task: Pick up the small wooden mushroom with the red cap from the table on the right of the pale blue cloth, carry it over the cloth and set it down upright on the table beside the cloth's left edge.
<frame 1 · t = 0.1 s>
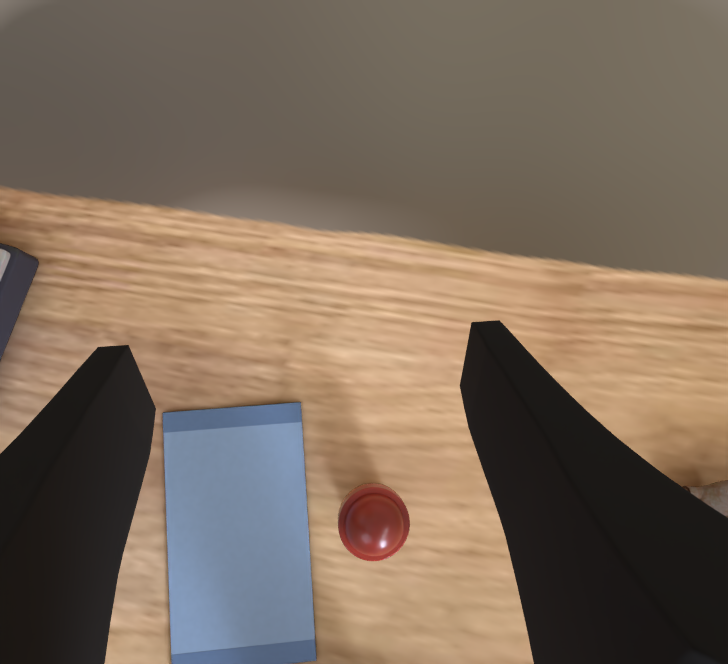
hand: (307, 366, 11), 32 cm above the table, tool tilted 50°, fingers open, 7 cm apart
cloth: (239, 533, 41), on the table
mushroom: (369, 508, 42), on the table
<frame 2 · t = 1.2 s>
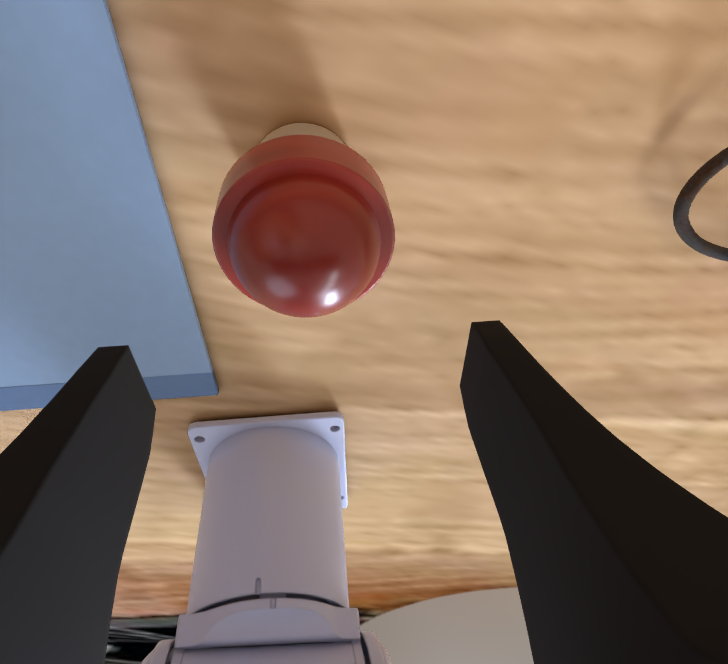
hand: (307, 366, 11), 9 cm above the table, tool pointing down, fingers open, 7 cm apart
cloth: (5, 213, 18), on the table
mushroom: (303, 173, 18), on the table
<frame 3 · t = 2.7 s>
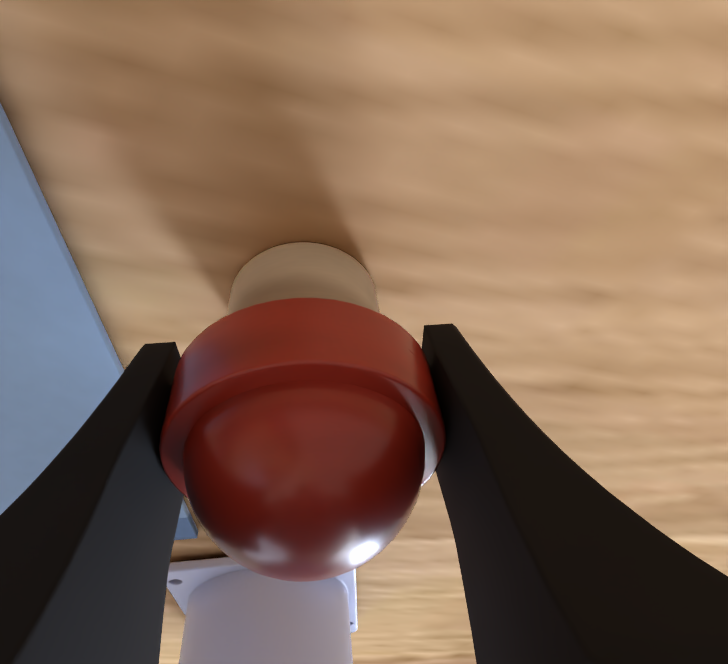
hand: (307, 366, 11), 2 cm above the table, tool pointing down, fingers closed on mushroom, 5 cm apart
mushroom: (304, 302, 13), on the table, touching gripper
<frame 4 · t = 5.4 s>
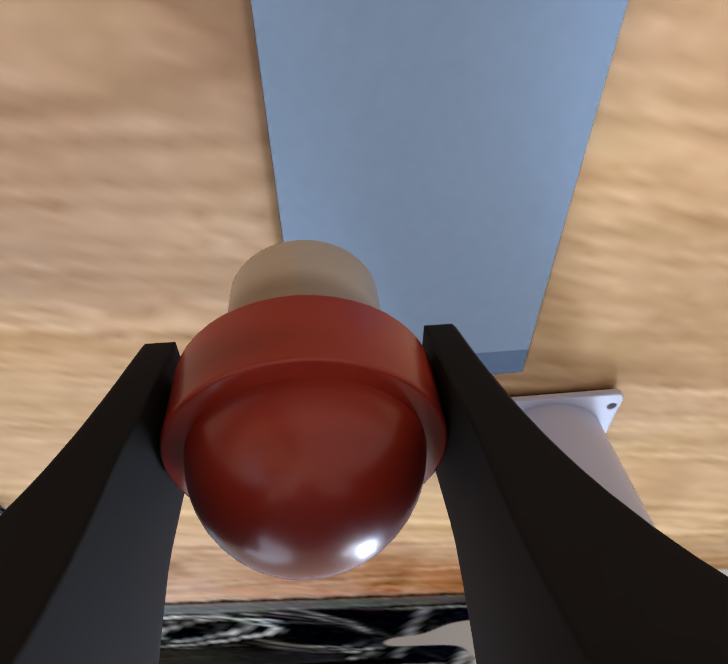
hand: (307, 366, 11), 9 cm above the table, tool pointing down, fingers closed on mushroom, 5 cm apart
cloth: (427, 193, 19), on the table
mushroom: (305, 300, 13), point 7 cm above the table, touching gripper
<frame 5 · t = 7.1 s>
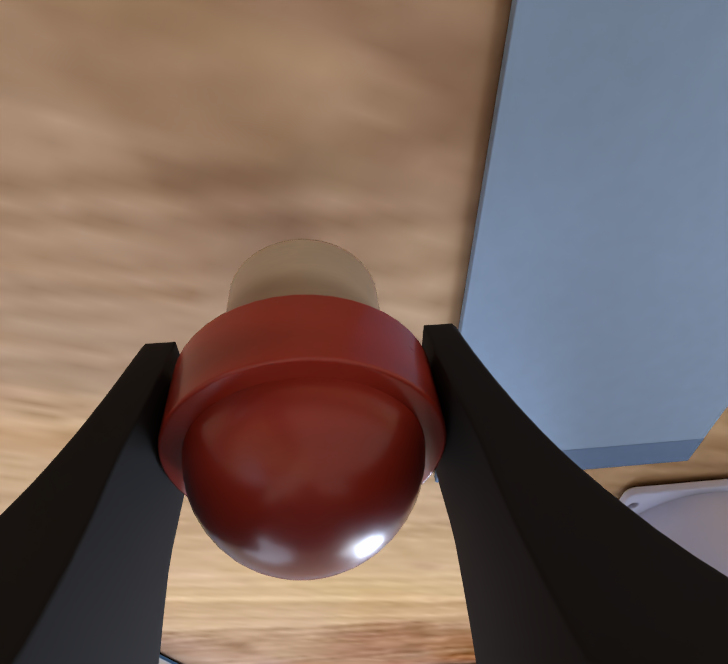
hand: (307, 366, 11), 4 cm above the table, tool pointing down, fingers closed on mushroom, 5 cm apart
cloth: (647, 276, 15), on the table
mushroom: (304, 300, 13), point 1 cm above the table, touching gripper
when the fingers open (2 cm above the table, at t = 8.2 s): mushroom stays where it is, on the table.
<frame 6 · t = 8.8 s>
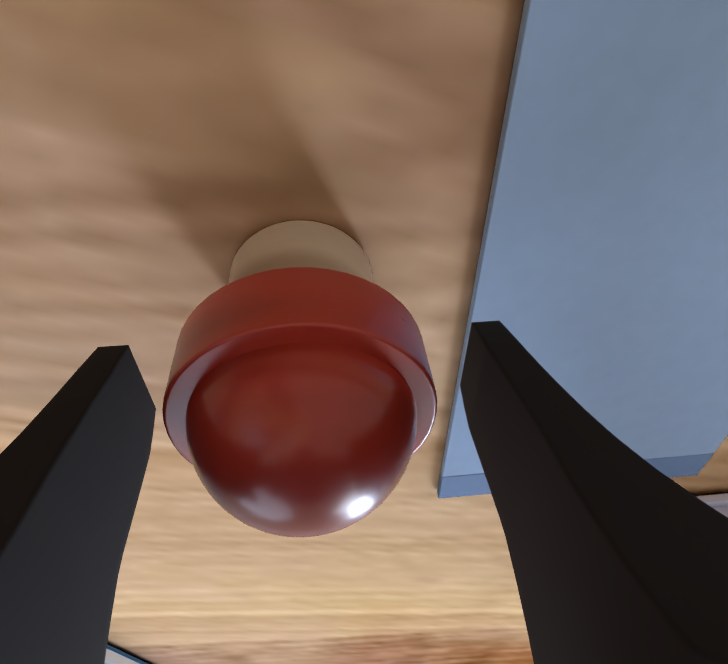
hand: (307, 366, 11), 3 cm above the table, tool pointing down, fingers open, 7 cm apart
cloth: (659, 290, 15), on the table
mushroom: (302, 280, 13), on the table
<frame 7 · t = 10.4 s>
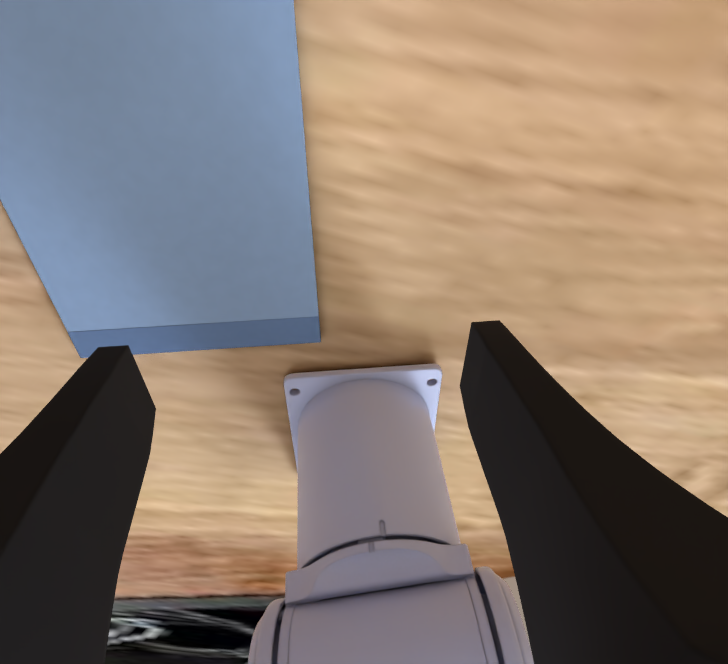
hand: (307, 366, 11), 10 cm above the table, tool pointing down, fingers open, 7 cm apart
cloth: (142, 131, 18), on the table
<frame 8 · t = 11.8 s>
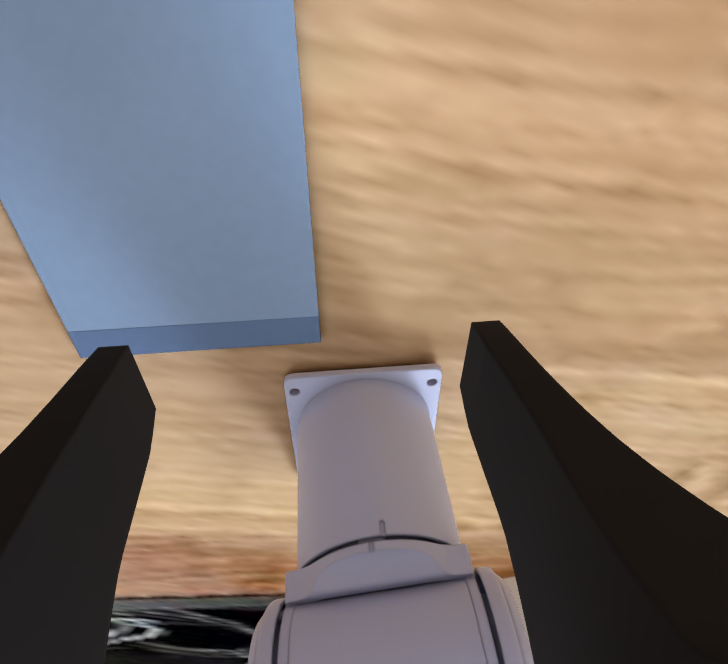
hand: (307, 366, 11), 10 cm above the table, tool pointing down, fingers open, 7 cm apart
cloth: (142, 131, 18), on the table
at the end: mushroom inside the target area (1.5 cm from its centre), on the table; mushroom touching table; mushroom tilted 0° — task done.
